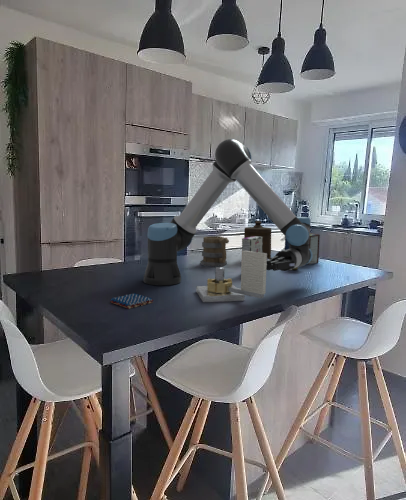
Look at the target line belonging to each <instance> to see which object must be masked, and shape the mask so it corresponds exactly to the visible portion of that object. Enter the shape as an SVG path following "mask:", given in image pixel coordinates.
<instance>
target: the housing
mask: <svg viewBox="0 0 406 500" xmlns="http://www.w3.org/2000/svg"><path fill="white" fill-rule="evenodd" d="M214 270H215V271H214V279H215V283H219V281H223V283H224V279H225V267H224V266H215V267H214ZM232 287H236V286H235V285H234V284H232ZM195 288H196V290H195V291H196V294H197V295H198V296H199V298H200V299H201V301H202V302H203V303H216V302H223V303H224V302H242V301H243V302H244V301H245V296H246V295H243V294H238V293H233V292H225V293H216V292H211V291H208V290H207V285H201V286H200V285H196V287H195Z"/></svg>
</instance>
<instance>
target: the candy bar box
mask: <svg viewBox="0 0 406 500" xmlns="http://www.w3.org/2000/svg"><path fill="white" fill-rule="evenodd" d="M262 245H263V237H257V236H254V237H248V238H244V237H243V238H241V252H242V251H252V252H260V253H262Z"/></svg>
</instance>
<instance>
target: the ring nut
mask: <svg viewBox="0 0 406 500" xmlns="http://www.w3.org/2000/svg"><path fill="white" fill-rule="evenodd" d="M240 266H241V267H240V287H236V286H235V287H232V285H233V280H232V279H233V278H227V279H226V278H224V283H223V281H219V283H215V278H207V280H206V281H207V282H206V286H207V290H208V291H211V292H216V293H225V292H233V293H238V294H243V295H245V296H248V297H253V298H257V299H264V298H265V294H266V293H267V292H266V288H267V270H266V266H267V253H260V252H252V251H242V250H241V264H240Z"/></svg>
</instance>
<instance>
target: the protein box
mask: <svg viewBox="0 0 406 500" xmlns="http://www.w3.org/2000/svg"><path fill="white" fill-rule="evenodd" d="M320 236H321V235H320V233H317V234H316V233H310V239H309V249H310V250H311V251H312V254H313V257H312V260H311V261H310V262H309V263H308V264H306V265H305V266H309V265H315V264H318V263H319V256H320V238H321V237H320ZM289 247H290V243H289V242H288V241H287V239H286V237H285V236H284V250H287V249H289Z"/></svg>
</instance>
